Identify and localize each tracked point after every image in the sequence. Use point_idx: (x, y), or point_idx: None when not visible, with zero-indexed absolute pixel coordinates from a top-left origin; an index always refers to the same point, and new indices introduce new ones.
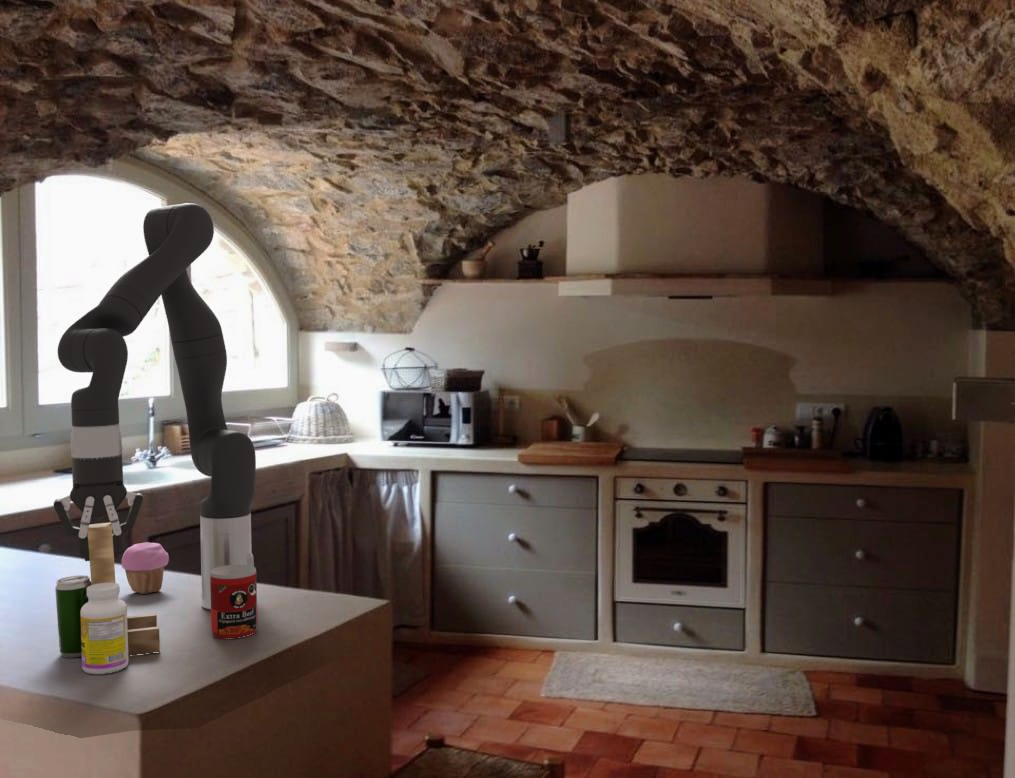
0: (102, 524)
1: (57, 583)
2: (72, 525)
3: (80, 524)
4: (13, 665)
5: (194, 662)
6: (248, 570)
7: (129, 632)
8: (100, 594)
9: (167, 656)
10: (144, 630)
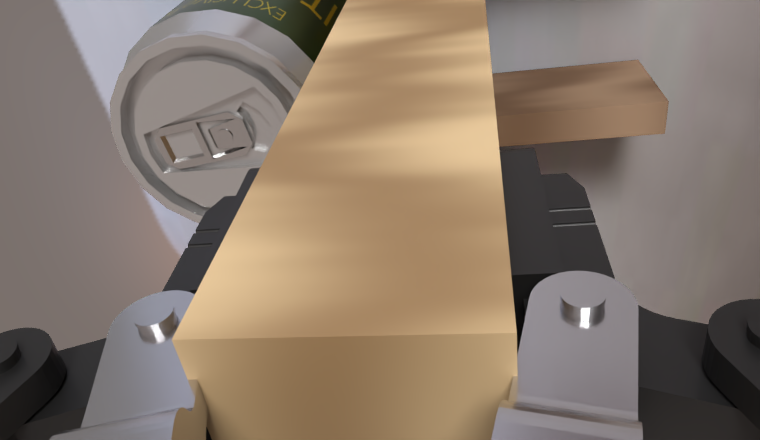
0: (391, 415)
1: (138, 175)
2: (9, 432)
3: (94, 414)
4: (109, 78)
5: (733, 223)
6: None
7: (532, 141)
8: None
9: (657, 135)
10: (598, 138)
